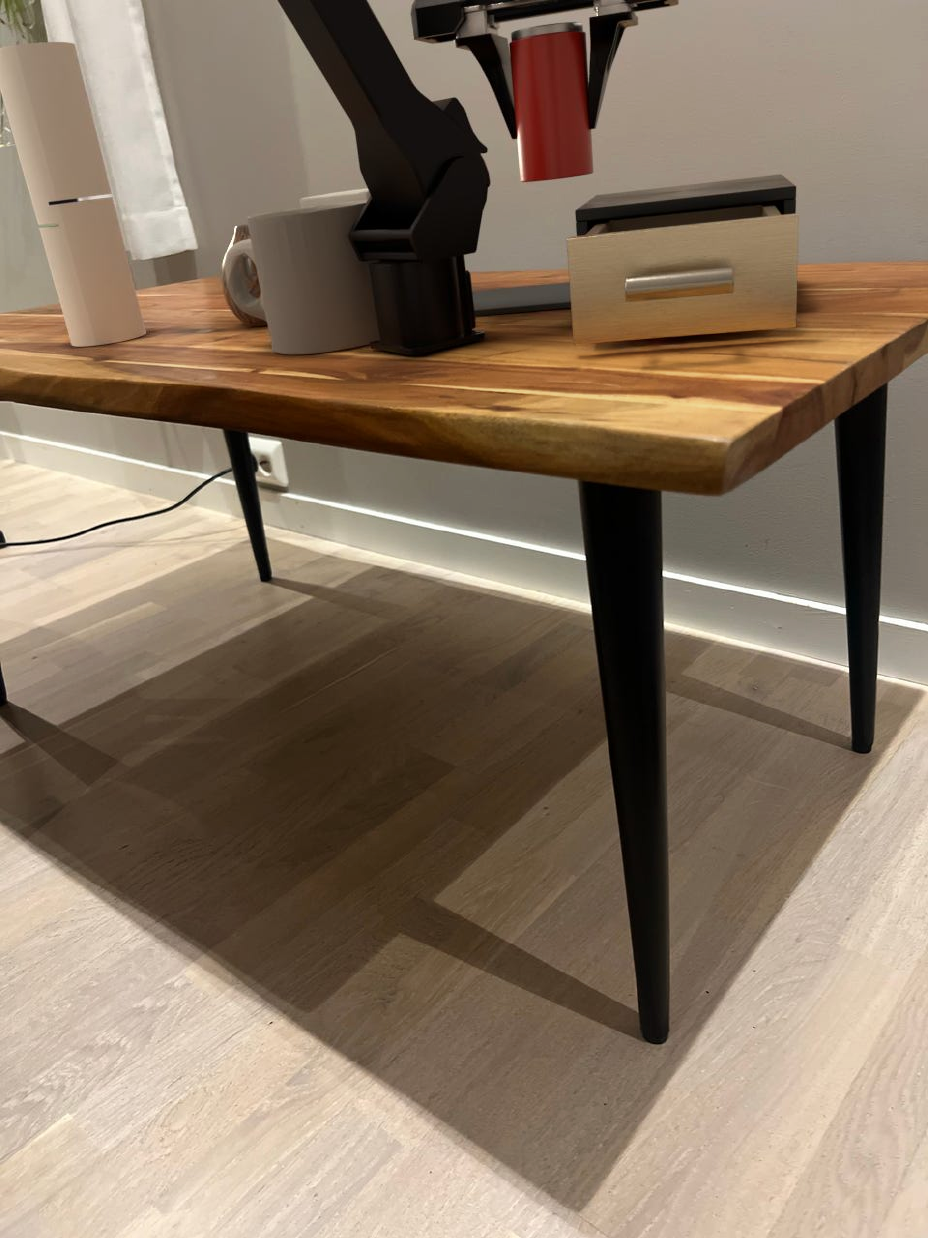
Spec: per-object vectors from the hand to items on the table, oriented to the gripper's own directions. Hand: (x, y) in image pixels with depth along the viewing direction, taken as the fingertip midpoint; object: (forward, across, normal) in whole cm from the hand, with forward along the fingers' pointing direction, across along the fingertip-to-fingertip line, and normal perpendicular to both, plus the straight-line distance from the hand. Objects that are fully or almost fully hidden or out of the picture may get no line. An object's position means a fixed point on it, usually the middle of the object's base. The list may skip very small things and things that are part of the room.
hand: (553, 133), depth 75 cm
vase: (+13, -30, +8) cm, 34 cm away
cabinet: (+13, +10, -2) cm, 16 cm away
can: (+3, 0, 0) cm, 3 cm away
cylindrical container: (+13, -46, +6) cm, 48 cm away
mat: (+13, -6, +7) cm, 16 cm away
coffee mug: (+13, -20, -5) cm, 24 cm away
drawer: (+12, +10, -14) cm, 21 cm away
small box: (+13, -20, +10) cm, 26 cm away
